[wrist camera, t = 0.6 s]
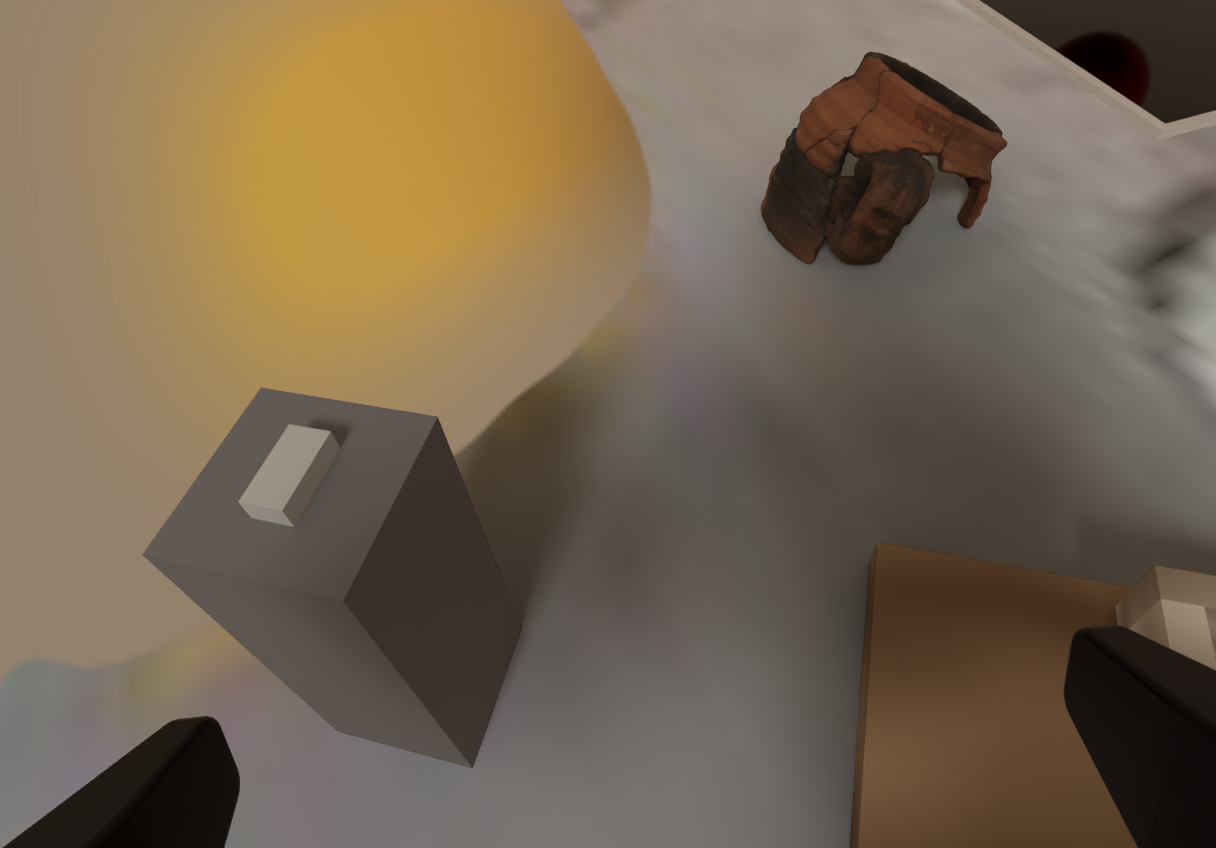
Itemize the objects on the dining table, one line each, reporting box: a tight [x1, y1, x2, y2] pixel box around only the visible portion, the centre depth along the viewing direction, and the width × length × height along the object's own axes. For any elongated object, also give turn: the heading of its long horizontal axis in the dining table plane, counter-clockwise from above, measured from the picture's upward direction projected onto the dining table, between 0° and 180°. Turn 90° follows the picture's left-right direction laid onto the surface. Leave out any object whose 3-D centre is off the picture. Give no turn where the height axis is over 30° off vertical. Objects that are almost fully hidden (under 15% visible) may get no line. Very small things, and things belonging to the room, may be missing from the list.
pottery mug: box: [761, 52, 1007, 264], centre depth 35 cm, size 12×10×8 cm
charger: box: [143, 388, 522, 768], centre depth 20 cm, size 4×4×12 cm
